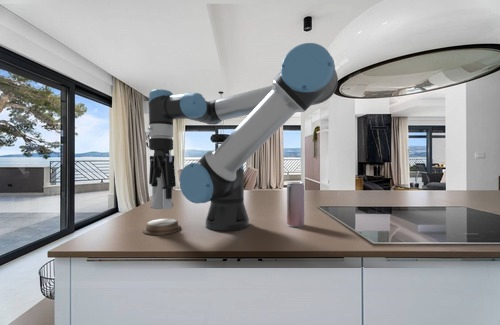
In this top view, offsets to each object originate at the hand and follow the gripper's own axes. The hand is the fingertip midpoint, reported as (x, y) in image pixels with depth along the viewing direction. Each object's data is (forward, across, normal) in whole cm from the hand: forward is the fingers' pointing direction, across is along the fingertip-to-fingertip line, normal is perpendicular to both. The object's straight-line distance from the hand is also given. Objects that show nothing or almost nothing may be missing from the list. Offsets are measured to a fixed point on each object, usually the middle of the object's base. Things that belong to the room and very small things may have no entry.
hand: (161, 206), depth 84 cm
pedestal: (+8, 0, 0) cm, 8 cm away
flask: (0, 0, 0) cm, 0 cm away
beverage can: (+8, +28, +36) cm, 46 cm away
